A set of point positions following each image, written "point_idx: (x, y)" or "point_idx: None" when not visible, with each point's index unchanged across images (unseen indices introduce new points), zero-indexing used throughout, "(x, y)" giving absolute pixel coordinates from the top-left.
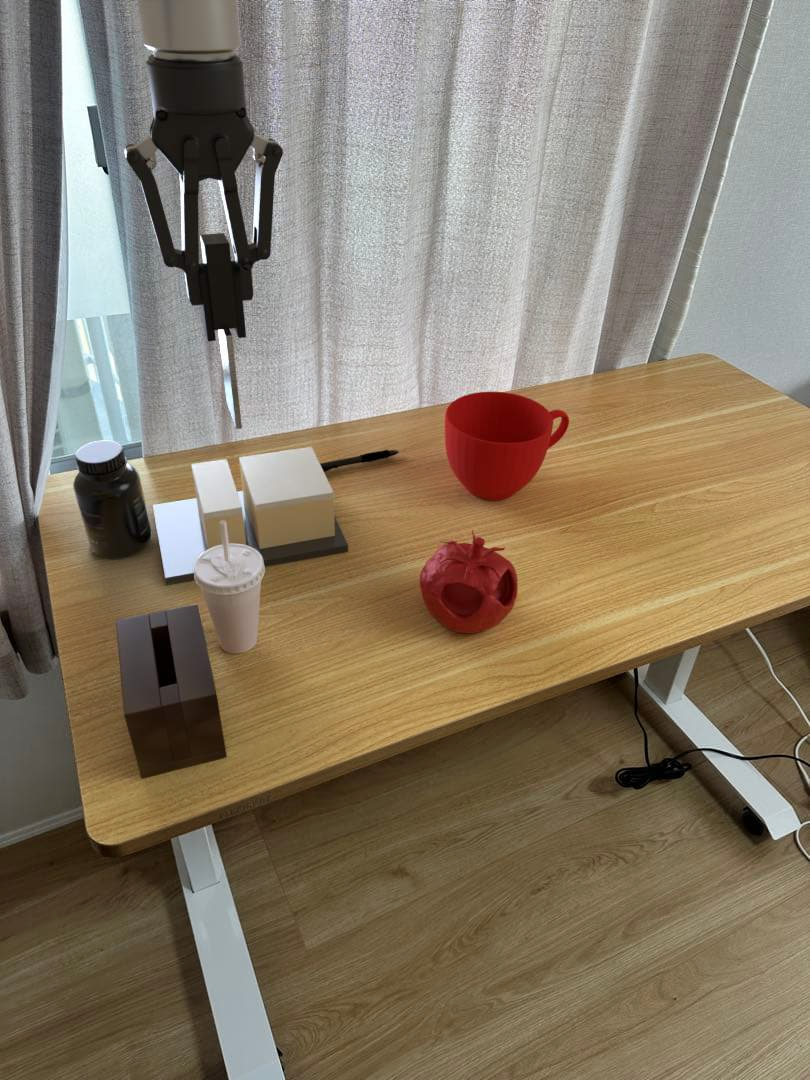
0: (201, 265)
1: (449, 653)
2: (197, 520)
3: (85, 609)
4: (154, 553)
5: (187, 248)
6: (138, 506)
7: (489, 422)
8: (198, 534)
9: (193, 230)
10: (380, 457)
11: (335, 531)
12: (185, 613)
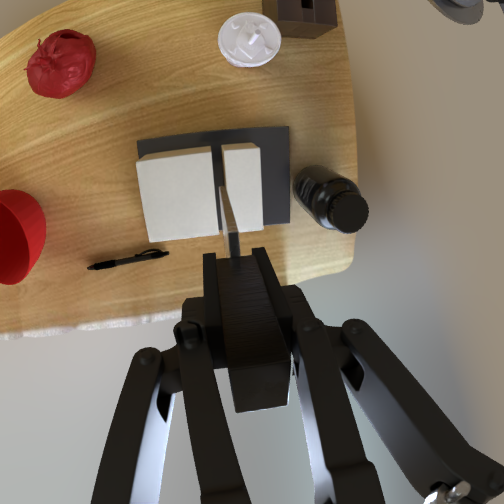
0: None
1: (96, 26)
2: None
3: (341, 117)
4: (292, 167)
5: (328, 352)
6: (310, 183)
7: (14, 266)
8: None
9: (322, 387)
10: (100, 262)
11: None
12: (288, 14)
